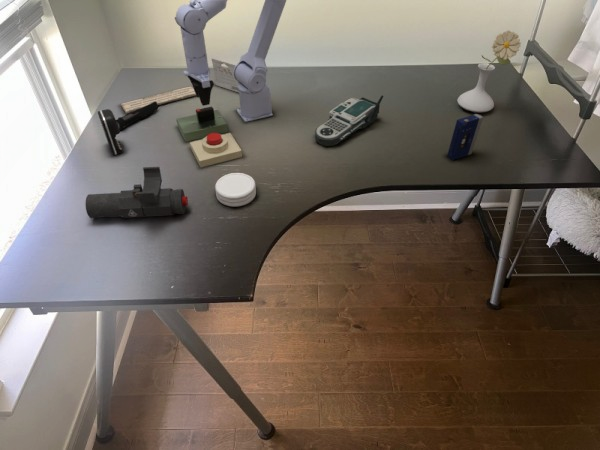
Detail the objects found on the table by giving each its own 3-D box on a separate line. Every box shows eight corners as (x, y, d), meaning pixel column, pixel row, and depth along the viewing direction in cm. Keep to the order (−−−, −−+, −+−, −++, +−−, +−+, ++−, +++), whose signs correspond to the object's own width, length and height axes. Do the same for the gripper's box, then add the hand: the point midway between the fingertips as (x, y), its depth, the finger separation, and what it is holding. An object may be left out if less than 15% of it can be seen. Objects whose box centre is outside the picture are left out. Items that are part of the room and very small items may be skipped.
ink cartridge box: (219, 82, 158) (215, 55, 151) (244, 90, 153) (241, 63, 147) (214, 85, 156) (210, 58, 149) (239, 93, 152) (237, 65, 145)
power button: (219, 136, 126) (218, 131, 125) (223, 144, 123) (223, 138, 122) (205, 140, 124) (204, 134, 123) (209, 147, 122) (209, 142, 121)
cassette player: (452, 160, 124) (463, 122, 116) (446, 156, 125) (456, 118, 117) (472, 153, 126) (484, 116, 118) (466, 149, 128) (477, 112, 120)
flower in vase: (453, 112, 143) (475, 32, 126) (458, 96, 151) (479, 19, 134) (496, 120, 140) (524, 39, 123) (498, 103, 148) (525, 25, 130)
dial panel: (218, 118, 140) (217, 109, 138) (228, 132, 134) (227, 123, 132) (178, 127, 136) (176, 118, 134) (185, 142, 130) (183, 133, 128)
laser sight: (99, 202, 110) (86, 170, 104) (190, 197, 112) (184, 165, 105) (89, 229, 103) (74, 196, 97) (187, 224, 105) (179, 191, 98)
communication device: (302, 137, 132) (302, 111, 126) (352, 107, 145) (354, 82, 139) (333, 153, 127) (335, 126, 120) (382, 120, 139) (385, 94, 133)
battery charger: (127, 152, 126) (115, 117, 118) (113, 156, 125) (100, 120, 117) (121, 140, 130) (110, 105, 123) (108, 144, 129) (96, 108, 121)
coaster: (240, 212, 108) (238, 201, 105) (208, 198, 112) (206, 187, 109) (263, 190, 114) (263, 179, 112) (233, 178, 118) (231, 167, 115)
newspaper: (127, 114, 141) (125, 109, 140) (120, 105, 146) (119, 100, 144) (196, 96, 150) (196, 91, 149) (189, 88, 155) (188, 83, 153)
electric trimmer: (161, 111, 143) (159, 102, 141) (121, 131, 134) (118, 122, 132) (154, 108, 145) (152, 99, 143) (113, 127, 136) (110, 118, 134)
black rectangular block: (213, 116, 135) (211, 105, 132) (215, 119, 134) (213, 108, 131) (197, 120, 133) (195, 109, 131) (198, 122, 132) (196, 111, 130)
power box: (230, 139, 131) (229, 127, 129) (242, 157, 125) (241, 144, 122) (190, 148, 128) (188, 136, 125) (200, 167, 121) (198, 155, 118)
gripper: (174, 46, 123) (183, 92, 133) (188, 67, 114) (196, 114, 123) (199, 42, 125) (206, 87, 135) (214, 62, 116) (221, 109, 125)
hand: (203, 100), depth 129 cm, fingers open, 5 cm apart
